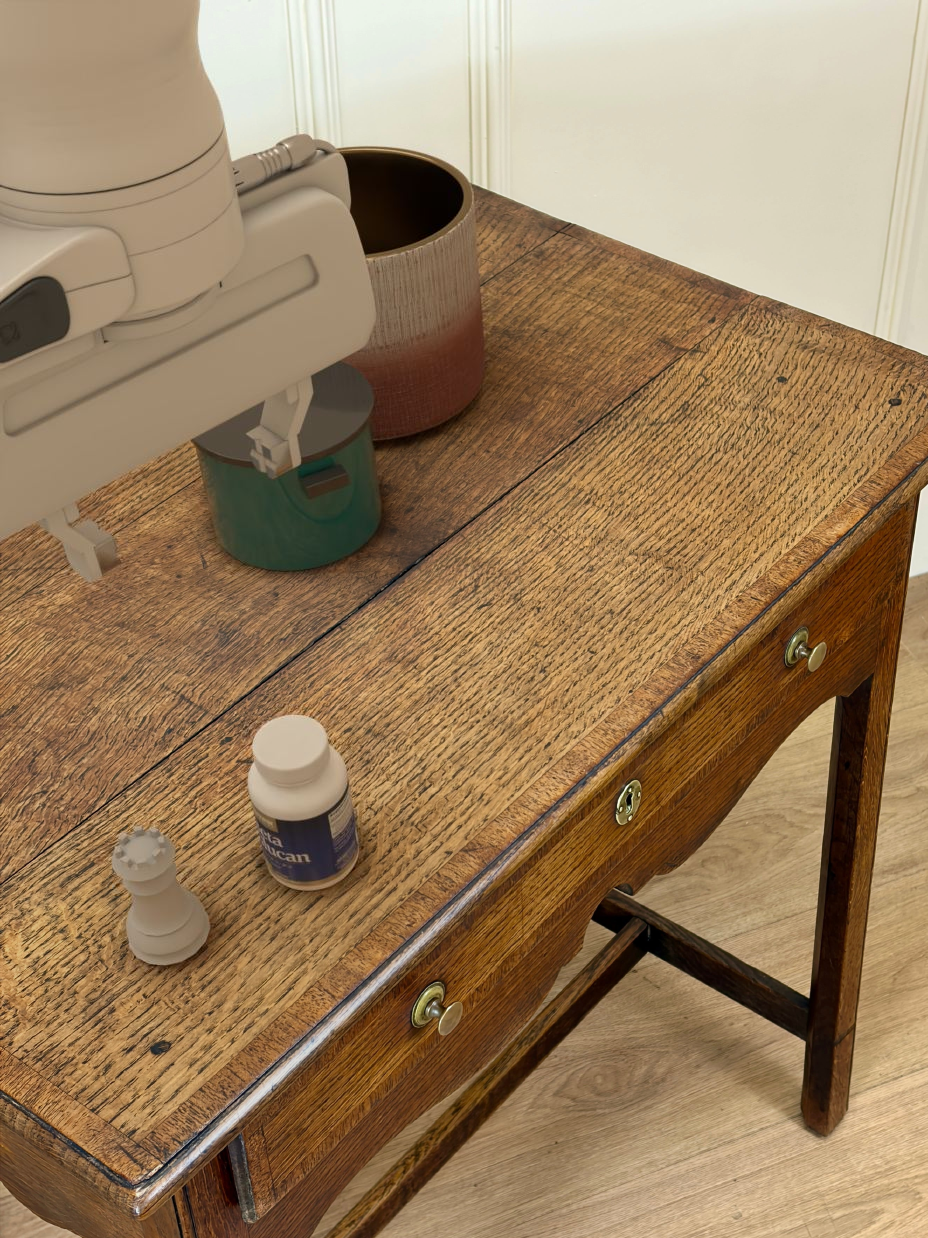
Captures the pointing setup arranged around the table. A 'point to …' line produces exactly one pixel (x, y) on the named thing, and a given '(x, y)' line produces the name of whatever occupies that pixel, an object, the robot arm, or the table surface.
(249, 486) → the pot
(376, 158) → the planter
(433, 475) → the table surface
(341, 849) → the pill bottle
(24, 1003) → the table surface
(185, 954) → the rook chess piece
